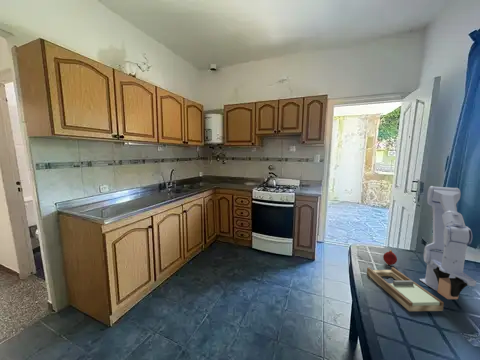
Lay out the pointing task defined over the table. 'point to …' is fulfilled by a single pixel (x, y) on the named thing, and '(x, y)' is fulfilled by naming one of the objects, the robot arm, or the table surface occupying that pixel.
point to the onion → (390, 258)
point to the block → (445, 288)
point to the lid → (414, 293)
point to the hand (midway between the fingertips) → (447, 292)
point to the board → (396, 294)
